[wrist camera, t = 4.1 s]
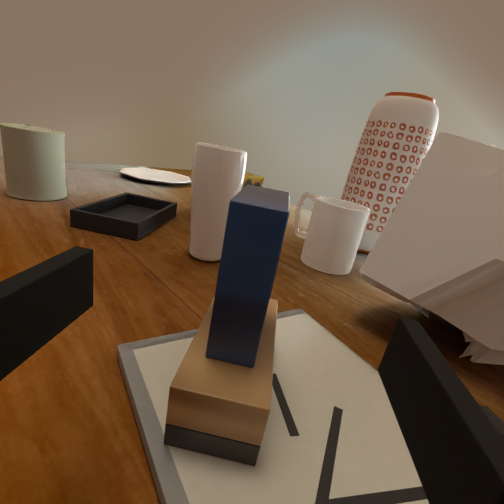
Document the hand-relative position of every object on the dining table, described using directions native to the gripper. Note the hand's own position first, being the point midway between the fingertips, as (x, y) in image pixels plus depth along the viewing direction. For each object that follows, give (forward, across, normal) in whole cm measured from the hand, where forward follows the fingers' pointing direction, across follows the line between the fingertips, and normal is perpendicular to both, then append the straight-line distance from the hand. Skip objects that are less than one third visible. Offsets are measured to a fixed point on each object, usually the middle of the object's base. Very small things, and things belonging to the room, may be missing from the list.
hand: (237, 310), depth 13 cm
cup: (+37, +9, -10) cm, 40 cm away
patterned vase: (+51, +20, -10) cm, 56 cm away
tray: (+37, -23, -10) cm, 45 cm away
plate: (+78, -36, -10) cm, 87 cm away
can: (+40, -43, -10) cm, 60 cm away
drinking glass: (+29, -8, -10) cm, 32 cm away
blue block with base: (+5, 0, -9) cm, 10 cm away
